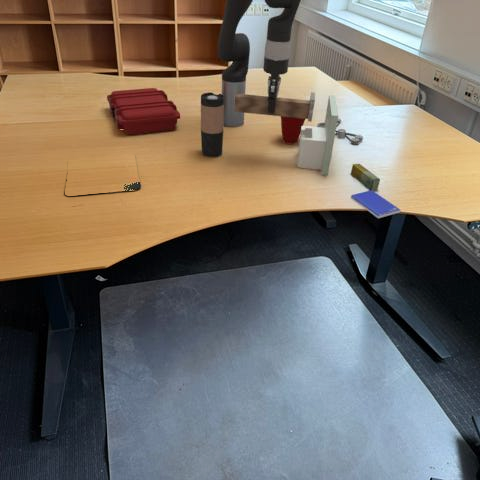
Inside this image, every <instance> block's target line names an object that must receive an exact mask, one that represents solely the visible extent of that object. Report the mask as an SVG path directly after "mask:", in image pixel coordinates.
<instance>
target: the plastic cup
mask: <svg viewBox="0 0 480 480" xmlns="http://www.w3.org/2000/svg"><path fill="white" fill-rule="evenodd" d="M305 121H306V119H303V118H293V117H283V116H280V122H281V124H280V125H281V139H282V142H283V141H284V142H283V143H285V144H288V143H289V145H290V144H291V145H292V144H297V143H298V141H299V140H300V134H301V126H304V123H305Z"/></svg>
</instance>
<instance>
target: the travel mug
mask: <svg viewBox="0 0 480 480" xmlns="http://www.w3.org/2000/svg"><path fill="white" fill-rule="evenodd" d="M224 126H225V125H224V96H223V95H222V93H219V94H216V93H214V92H209V91H208V92H204V93H202V94H201V95H200V138H201V139H200V141H201V155H203V156H204V157H207V158H217V157H220V156H222V154H223V145H224V142H223V141H224Z"/></svg>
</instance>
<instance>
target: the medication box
mask: <svg viewBox="0 0 480 480" xmlns="http://www.w3.org/2000/svg"><path fill="white" fill-rule="evenodd" d="M350 175H351V176H352V178H354V179H355V180H356V181H358V182H359V183H360V184H361V185H362V186H363V187H365V188H366V189H367V190H368V191H370V190H372V191H374V192H376V191H378V189H379V187H380V182H381V178H379V177H378V176H377V175H375V174H374V173H372V171H370V170H369V169H367V168H366V167H365V166H363V165H362V164H361V163H353V164H352V167H351V169H350Z"/></svg>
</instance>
